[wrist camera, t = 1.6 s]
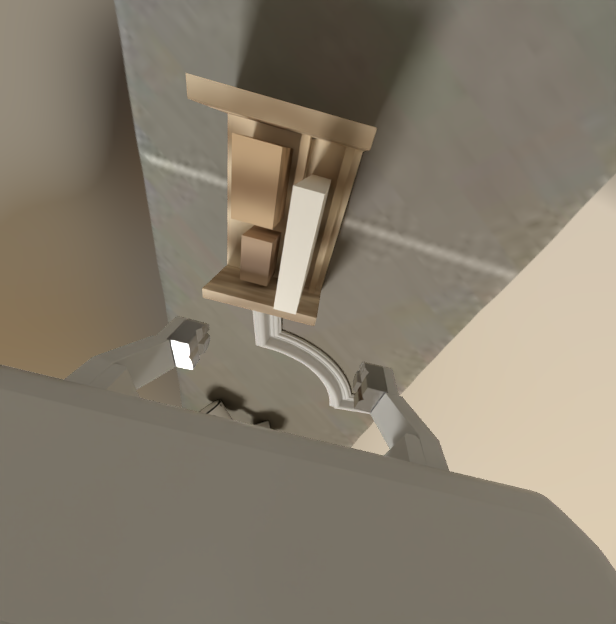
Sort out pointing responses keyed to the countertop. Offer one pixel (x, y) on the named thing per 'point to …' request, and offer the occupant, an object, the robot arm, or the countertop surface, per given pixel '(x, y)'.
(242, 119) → the offcut rack
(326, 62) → the countertop surface
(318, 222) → the white square panel
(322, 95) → the countertop surface
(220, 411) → the patterned dumbbell
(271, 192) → the oak offcut
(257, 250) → the walnut offcut
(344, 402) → the molding
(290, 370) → the countertop surface
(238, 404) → the countertop surface
